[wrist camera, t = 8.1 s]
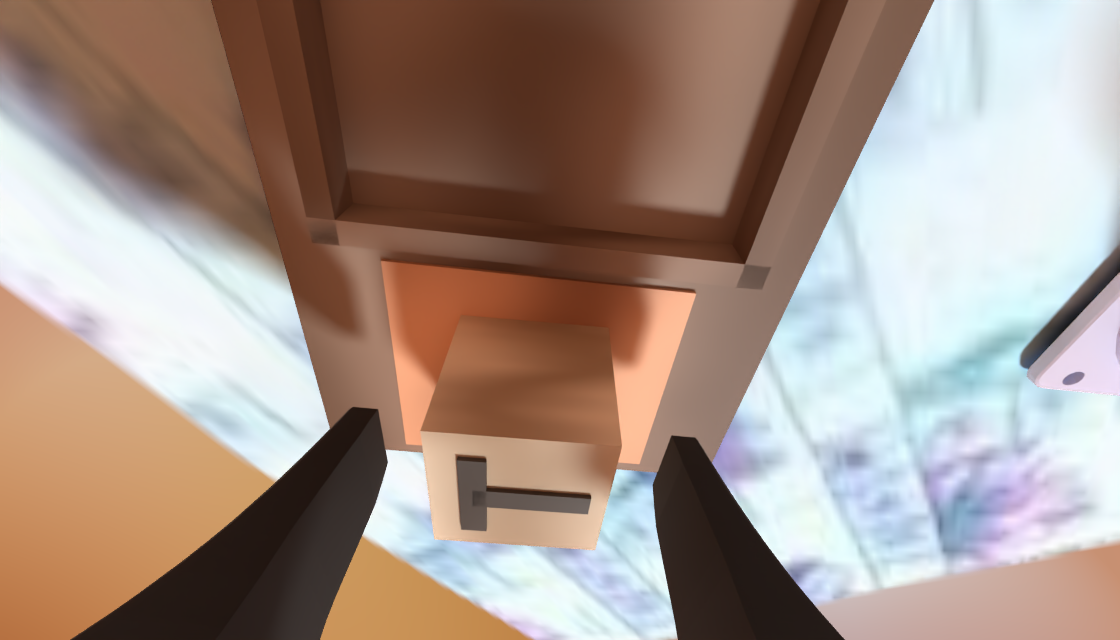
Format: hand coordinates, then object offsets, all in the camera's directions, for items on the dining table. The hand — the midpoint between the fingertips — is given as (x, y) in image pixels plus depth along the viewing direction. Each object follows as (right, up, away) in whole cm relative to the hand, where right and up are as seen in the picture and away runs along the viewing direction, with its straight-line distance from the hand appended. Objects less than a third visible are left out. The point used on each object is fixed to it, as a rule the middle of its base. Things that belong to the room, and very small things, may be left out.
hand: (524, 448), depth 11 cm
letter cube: (0, +2, +2) cm, 3 cm away
